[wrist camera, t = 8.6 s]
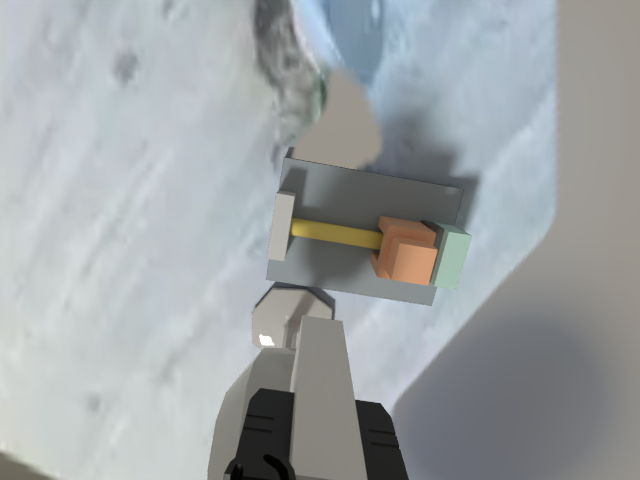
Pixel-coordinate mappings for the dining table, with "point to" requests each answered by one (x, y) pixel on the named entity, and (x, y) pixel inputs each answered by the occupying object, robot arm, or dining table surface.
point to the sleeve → (405, 251)
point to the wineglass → (263, 365)
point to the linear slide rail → (358, 230)
